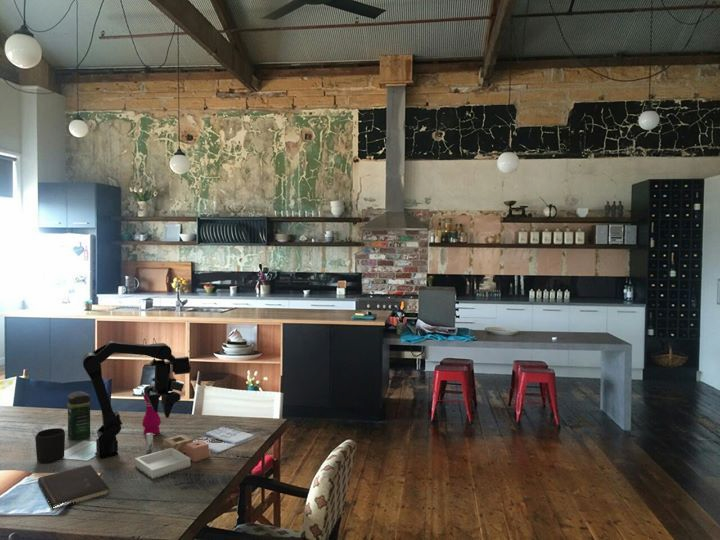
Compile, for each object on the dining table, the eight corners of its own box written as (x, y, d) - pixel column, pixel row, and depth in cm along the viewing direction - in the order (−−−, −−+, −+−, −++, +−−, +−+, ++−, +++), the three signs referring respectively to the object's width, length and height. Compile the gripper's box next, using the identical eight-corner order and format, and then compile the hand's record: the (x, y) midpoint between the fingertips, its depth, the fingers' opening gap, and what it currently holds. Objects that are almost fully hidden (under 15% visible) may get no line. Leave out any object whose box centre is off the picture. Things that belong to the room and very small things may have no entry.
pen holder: (71, 455, 194) (71, 429, 194) (50, 466, 185) (49, 438, 185) (51, 452, 197) (50, 427, 196) (29, 462, 188) (28, 435, 187)
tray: (152, 478, 176) (152, 470, 176) (134, 466, 185) (134, 458, 185) (190, 466, 186) (190, 458, 186) (172, 455, 196) (171, 447, 195)
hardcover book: (90, 470, 183) (90, 464, 183) (109, 495, 165) (109, 488, 165) (38, 484, 172) (37, 477, 172) (52, 511, 155) (52, 504, 155)
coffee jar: (92, 438, 212) (92, 393, 211) (70, 443, 207) (70, 397, 206) (87, 431, 219) (86, 388, 218) (66, 436, 214) (65, 391, 213)
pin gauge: (147, 454, 196) (147, 435, 195) (145, 453, 197) (144, 433, 197) (154, 453, 198) (153, 433, 197) (151, 451, 199) (151, 432, 199)
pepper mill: (148, 437, 213) (148, 389, 212) (139, 433, 218) (138, 386, 217) (164, 432, 219) (163, 385, 218) (154, 428, 224) (154, 382, 223)
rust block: (194, 461, 190) (193, 448, 190) (185, 457, 194) (185, 444, 194) (208, 457, 195) (208, 444, 194) (200, 452, 199) (200, 439, 199)
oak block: (173, 456, 195) (173, 445, 195) (163, 450, 200) (163, 439, 200) (192, 450, 201) (192, 439, 201) (182, 445, 206) (182, 434, 206)
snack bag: (255, 439, 214) (255, 434, 214) (217, 455, 197) (217, 450, 197) (224, 430, 225) (224, 425, 224) (185, 444, 208) (185, 439, 208)
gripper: (193, 376, 205) (192, 415, 205) (169, 368, 217) (168, 405, 217) (166, 381, 196) (165, 422, 197) (143, 372, 209) (142, 410, 209)
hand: (161, 414), depth 205 cm, fingers open, 9 cm apart
